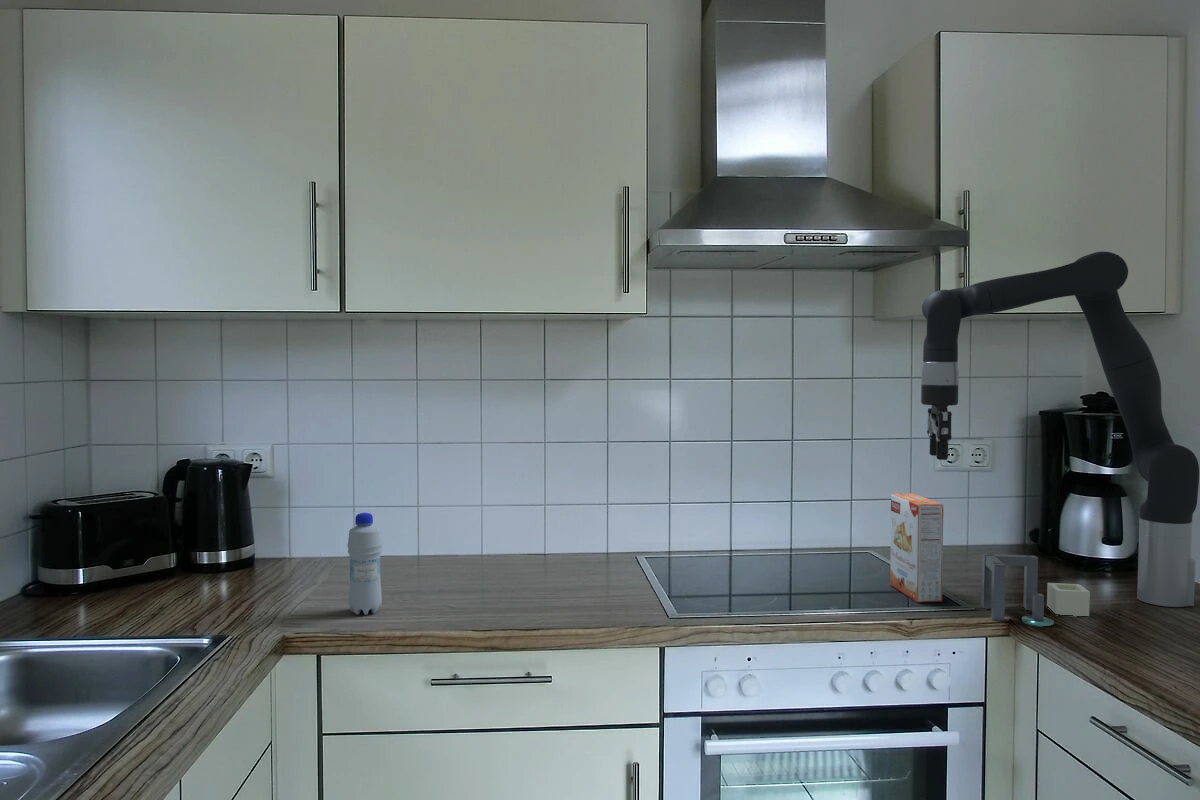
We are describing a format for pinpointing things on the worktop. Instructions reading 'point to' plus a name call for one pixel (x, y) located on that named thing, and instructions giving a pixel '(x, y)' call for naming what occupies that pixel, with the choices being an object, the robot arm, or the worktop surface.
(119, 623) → the worktop surface
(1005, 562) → the rail
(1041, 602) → the peg
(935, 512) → the cracker box
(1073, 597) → the white square tube
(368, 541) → the bottle
